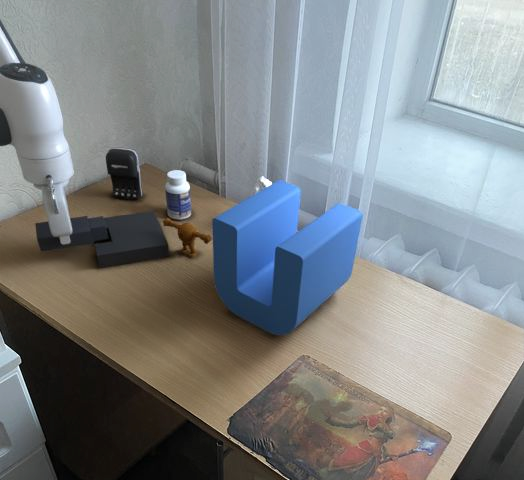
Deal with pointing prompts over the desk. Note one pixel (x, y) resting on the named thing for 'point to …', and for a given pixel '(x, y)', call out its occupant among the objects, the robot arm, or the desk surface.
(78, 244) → the charcoal pad
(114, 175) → the battery charger
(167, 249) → the black pad
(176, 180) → the pill bottle
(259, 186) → the white creature statuette
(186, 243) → the toy figurine
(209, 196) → the desk surface
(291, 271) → the block
